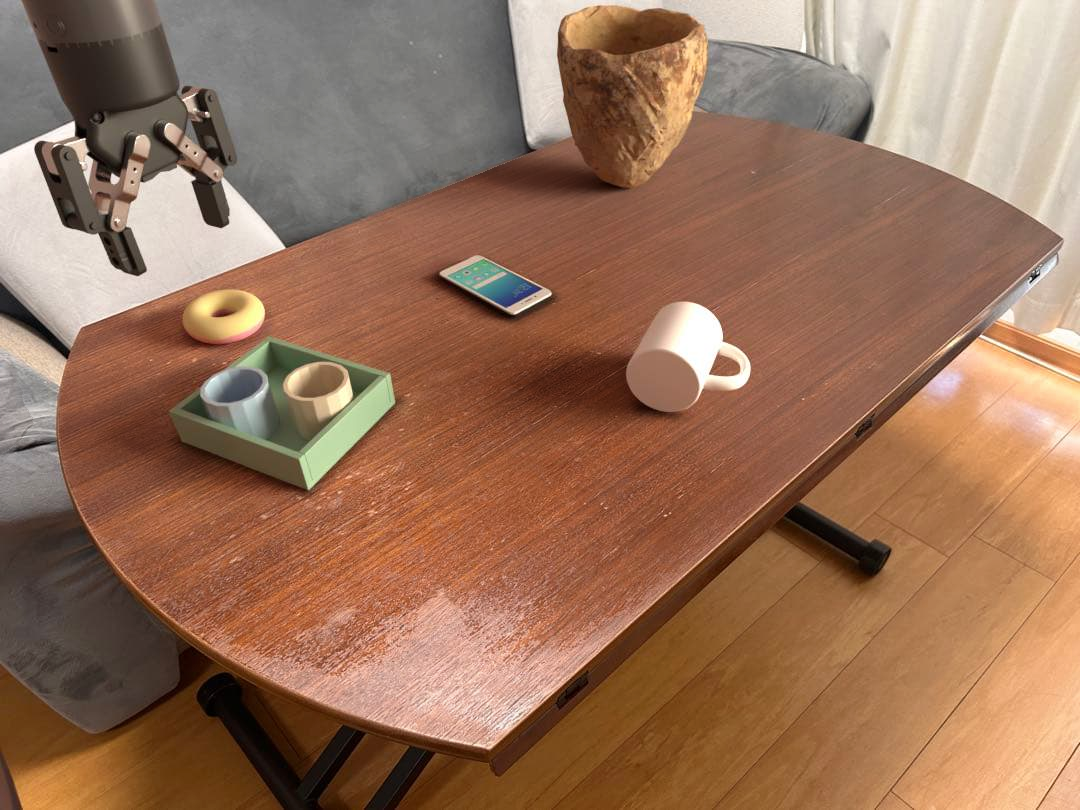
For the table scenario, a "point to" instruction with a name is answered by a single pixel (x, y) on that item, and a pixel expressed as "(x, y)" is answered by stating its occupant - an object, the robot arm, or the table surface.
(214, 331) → the donut
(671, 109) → the rough brown clay pot
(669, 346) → the mug
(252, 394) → the gray cup
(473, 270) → the smartphone
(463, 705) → the table surface
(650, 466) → the table surface
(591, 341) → the table surface
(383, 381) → the tub
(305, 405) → the cream cup
